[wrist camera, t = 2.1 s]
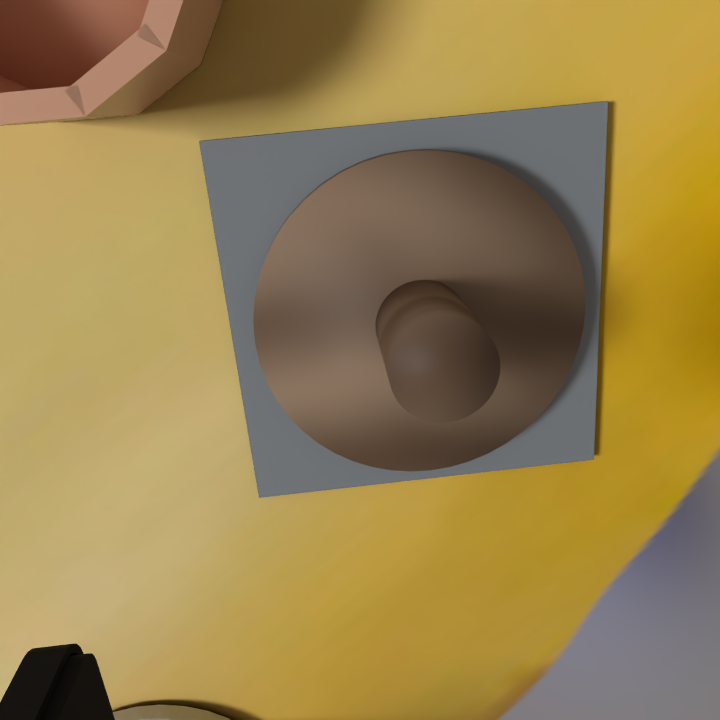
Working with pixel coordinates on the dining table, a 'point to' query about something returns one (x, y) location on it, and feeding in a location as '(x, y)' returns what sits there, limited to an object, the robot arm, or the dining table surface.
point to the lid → (419, 310)
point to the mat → (357, 143)
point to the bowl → (96, 55)
